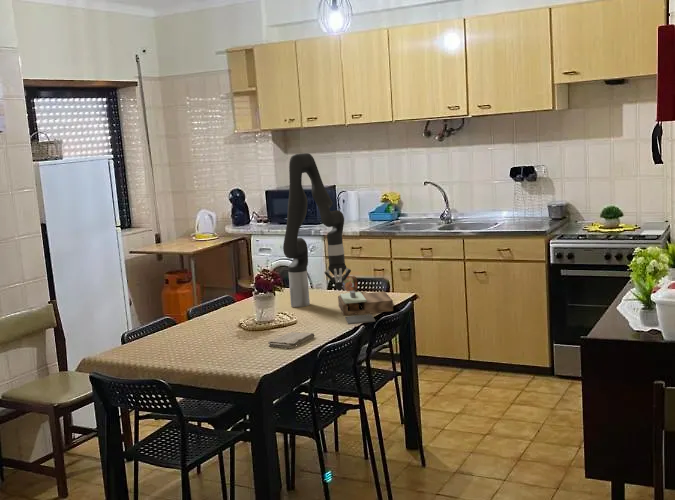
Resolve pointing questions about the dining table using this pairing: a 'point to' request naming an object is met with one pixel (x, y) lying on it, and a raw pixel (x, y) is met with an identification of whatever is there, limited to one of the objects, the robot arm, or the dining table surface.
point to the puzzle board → (369, 304)
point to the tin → (350, 283)
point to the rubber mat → (359, 319)
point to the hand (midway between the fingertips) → (339, 289)
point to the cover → (353, 297)
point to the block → (353, 306)
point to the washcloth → (290, 340)
